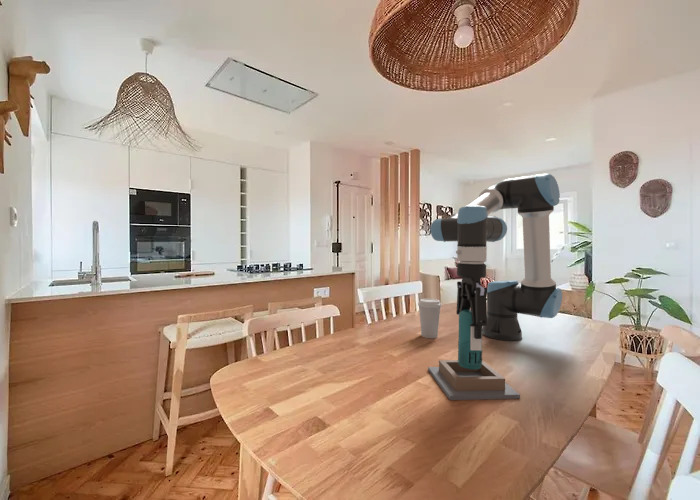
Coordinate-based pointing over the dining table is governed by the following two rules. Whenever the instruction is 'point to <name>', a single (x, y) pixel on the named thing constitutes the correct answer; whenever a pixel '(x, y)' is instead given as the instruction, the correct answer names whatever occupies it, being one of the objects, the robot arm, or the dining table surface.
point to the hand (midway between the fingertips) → (470, 345)
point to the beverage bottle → (467, 341)
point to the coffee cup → (429, 317)
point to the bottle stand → (471, 382)
